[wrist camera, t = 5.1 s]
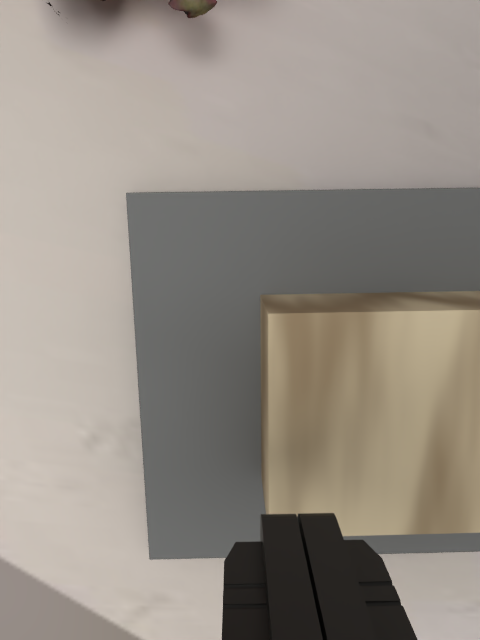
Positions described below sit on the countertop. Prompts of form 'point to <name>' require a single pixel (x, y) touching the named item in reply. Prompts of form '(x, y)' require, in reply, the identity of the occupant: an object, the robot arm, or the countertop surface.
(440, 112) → the countertop surface
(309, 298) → the maple block
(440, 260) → the rubber mat
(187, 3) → the dragon fruit
